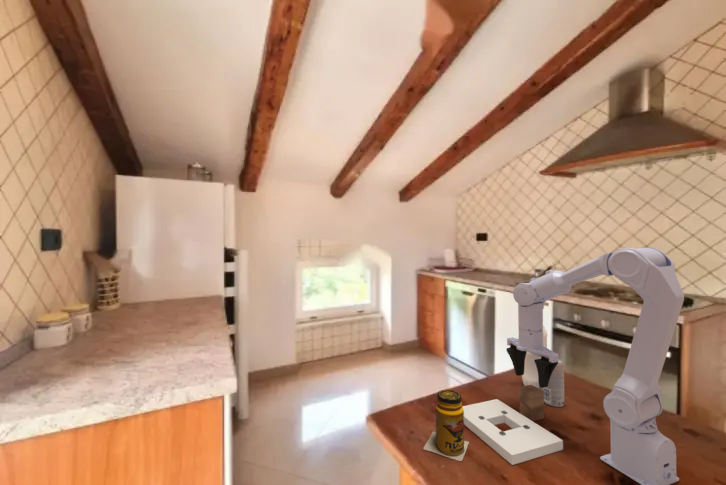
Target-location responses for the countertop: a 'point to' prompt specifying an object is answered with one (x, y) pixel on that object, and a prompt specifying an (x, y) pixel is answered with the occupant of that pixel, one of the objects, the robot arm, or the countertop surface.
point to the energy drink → (555, 387)
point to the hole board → (510, 432)
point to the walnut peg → (531, 402)
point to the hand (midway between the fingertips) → (531, 380)
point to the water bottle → (532, 366)
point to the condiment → (448, 427)
